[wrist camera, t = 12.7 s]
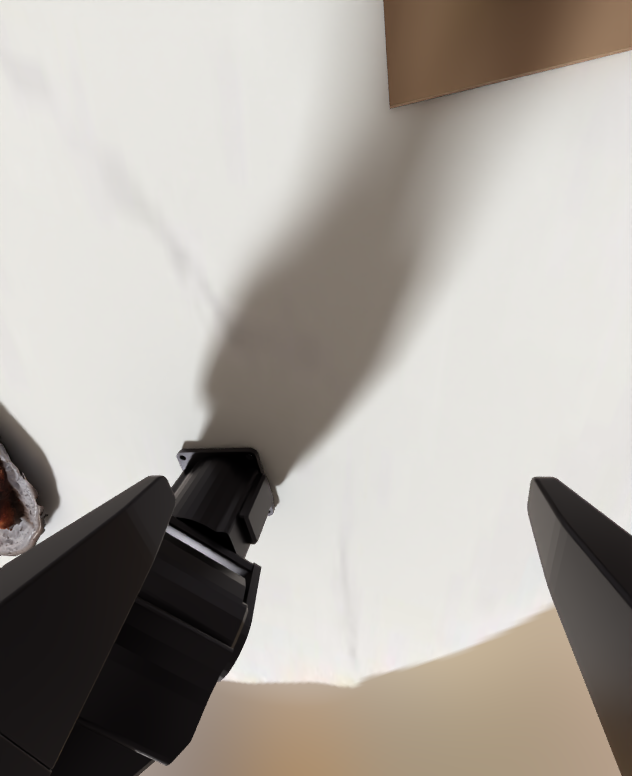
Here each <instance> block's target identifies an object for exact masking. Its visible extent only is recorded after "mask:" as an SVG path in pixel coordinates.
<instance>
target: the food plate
mask: <svg viewBox="0 0 632 776" xmlns="http://www.w3.org/2000/svg"><path fill="white" fill-rule="evenodd" d="M23 476H24V473H23V474H22V475H21V474H20V472H19V470H18V468H17V467H16V466H15V465H14V464H13V463H12V462H11V460H10V457H9V455H8V454H7V452H6V449H5V448H4V446H3V444H1V443H0V556H1V555H4V556H16V555H19V554H23V553H25V552H26V551H28V550H29V549H31V548H33V547H34V546H35V545H36V542H37V541H38V539H39V537H40V535H42V534H43V532H44V530H45V529H44V526H45V523H44V520H43V519H44V518H45V516H48V515H46V514H45V516H44V517H43V518H42V519H40V516H41V515H42V513H43V510H44V509H43V508H44V507H43V506H39V505H38V504H37V503H36V498H38V492H37V490H36V489H35V488H34V487H33V486H32V485H31V484H30V483H29V482H28V481H27V479H26V477H25V476H24V478H25V480H24V479H23Z"/></svg>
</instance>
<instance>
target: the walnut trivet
mask: <svg viewBox="0 0 632 776" xmlns="http://www.w3.org/2000/svg"><path fill="white" fill-rule="evenodd" d="M383 1H384V18H385V35H386V52H387V69H388V85H389V102H390V109H391V108H395V107H399V106H403V105H407V104H411V103H415V102H420V101H424V100H428V99H432V98H436V97H440V96H444V95H448V94H452V93H457V92H461V91H465V90H469V89H473V88H477V87H481V86H485V85H489V84H494V83H498V82H502V81H506V80H510V79H514V78H518V77H522V76H526V75H531V74H535V73H539V72H543V71H547V70H551V69H555V68H559V67H563V66H568V65H572V64H576V63H580V62H584V61H588V60H592V59H596V58H600V57H605V56H609V55H613V54H617V53H621V52H625V51H629V50H632V0H383Z"/></svg>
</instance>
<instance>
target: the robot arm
mask: <svg viewBox="0 0 632 776" xmlns="http://www.w3.org/2000/svg"><path fill="white" fill-rule="evenodd" d="M249 454H250V455H252V456H250V455H249ZM177 459H178V461H179V463H180V466H181V468H182V470H183V472H182V474H181V475H180V476H179V478H178V479H177V481H176V482H175V483H174V485H173V486H172V487H170V485H169V483H168V480H167V479H166V478H165V477H164V476H161V475H152V476H148V477H146V478H144V479H143V480H141V481H140V482H138V483H136V484H135V485H133V486H131V487H130V488H128V489H127V490H125V491H123V492H122V493H120V494H119V495H117V496H115V497H114V498H112V499H110V500H109V501H107V502H106V503H104V504H102V505H101V506H99V507H97V508H96V509H94V510H93V511H91V512H89V513H88V514H86V515H84V516H83V517H81V518H80V519H78V520H76V521H75V522H73V523H72V524H70V525H68V526H67V527H65V528H63V529H62V530H60V531H59V532H57V533H55V534H54V535H52V536H50V537H49V538H47V539H46V540H44V541H42V542H41V543H39V544H37V545H36V546H34V547H33V548H31V549H29V550H28V551H26V552H25V553H23V554H21V555H20V556H18V557H16V558H15V559H13V560H12V561H10V562H8V563H7V564H5V565H4V566H3V567H2V568H0V776H139V775H140V774H141V773H142V772H143V771H144V770H145V769H147V768H148V767H149V766H150V765H151V764H152V763H154V762H155V761H157V762H159V763H161V764H163V765H165V766H167V765H169V764H170V763H172V762H173V760H174V759H175V758H176V757H177V756H178V755H179V754H180V753H181V752H182V751H183V750H184V749H185V747H186V746H187V745H188V744H189V743H190V741H191V740H192V737H193V735H194V733H195V730H196V728H197V725H198V723H199V721H200V718H201V716H202V713H203V711H204V709H205V706H206V704H207V701H208V699H209V697H210V695H211V693H212V691H213V688H214V687H215V685H216V683H217V682H219V681H221V680H222V679H223V678H224V677H225V676H226V675H227V674H228V673H229V671H230V670H231V668H232V667H233V665H234V663H235V662H236V660H237V658H238V656H239V654H240V652H241V650H242V648H243V646H244V644H245V641H246V639H247V636H248V633H249V630H250V626H251V622H252V617H253V611H254V606H255V600H256V594H257V588H258V583H259V577H260V571H261V566H259V565H257V564H256V563H251V562H249V561H248V560H246V559H245V556H246V554H247V551H248V549H249V546H250V544H256V542H257V541H258V539H259V537H260V534H261V531H262V529H263V526H264V523H265V521H266V518H267V516H270V515H272V514H273V513H274V510H275V507H274V504H273V495H272V492H271V489H270V485H269V482H268V479H267V476H266V475H265V473H264V472H263V468H262V465H261V462H260V459H259V455H258V453H257V451H256V450H255V449H252V448H226V449H182V450H180V451H179V452H178V454H177ZM527 509H528V516H529V519H530V523H531V527H532V531H533V534H534V538H535V542H536V546H537V549H538V553H539V557H540V560H541V564H542V568H543V572H544V575H545V579H546V582H547V586H548V589H549V591H550V594H551V597H552V600H553V602H554V605H555V607H556V610H557V612H558V615H559V617H560V620H561V623H562V625H563V627H564V630H565V632H566V635H567V638H568V640H569V643H570V645H571V648H572V651H573V653H574V656H575V658H576V661H577V663H578V666H579V668H580V671H581V673H582V676H583V679H584V681H585V684H586V686H587V689H588V691H589V694H590V696H591V699H592V701H593V704H594V707H595V709H596V712H597V714H598V717H599V719H600V722H601V724H602V727H603V729H604V732H605V734H606V737H607V740H608V742H609V745H610V747H611V750H612V752H613V755H614V757H615V760H616V762H617V765H618V767H619V770H620V772H621V775H622V776H632V535H630V534H629V533H628V532H627V531H625V530H624V529H623V528H621V527H620V526H619V525H617V524H616V523H615V522H613V521H612V520H611V519H609V518H608V517H607V516H605V515H604V514H603V513H602V512H600V511H599V510H598V509H596V508H595V507H594V506H592V505H591V504H590V503H588V502H587V501H586V500H584V499H583V498H582V497H581V496H579V495H578V494H577V493H575V492H574V491H573V490H571V489H570V488H569V487H567V486H566V485H565V484H563V483H562V482H561V481H559V480H558V479H557V478H554V477H534V478H532V480H531V483H530V490H529V497H528V504H527Z"/></svg>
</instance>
